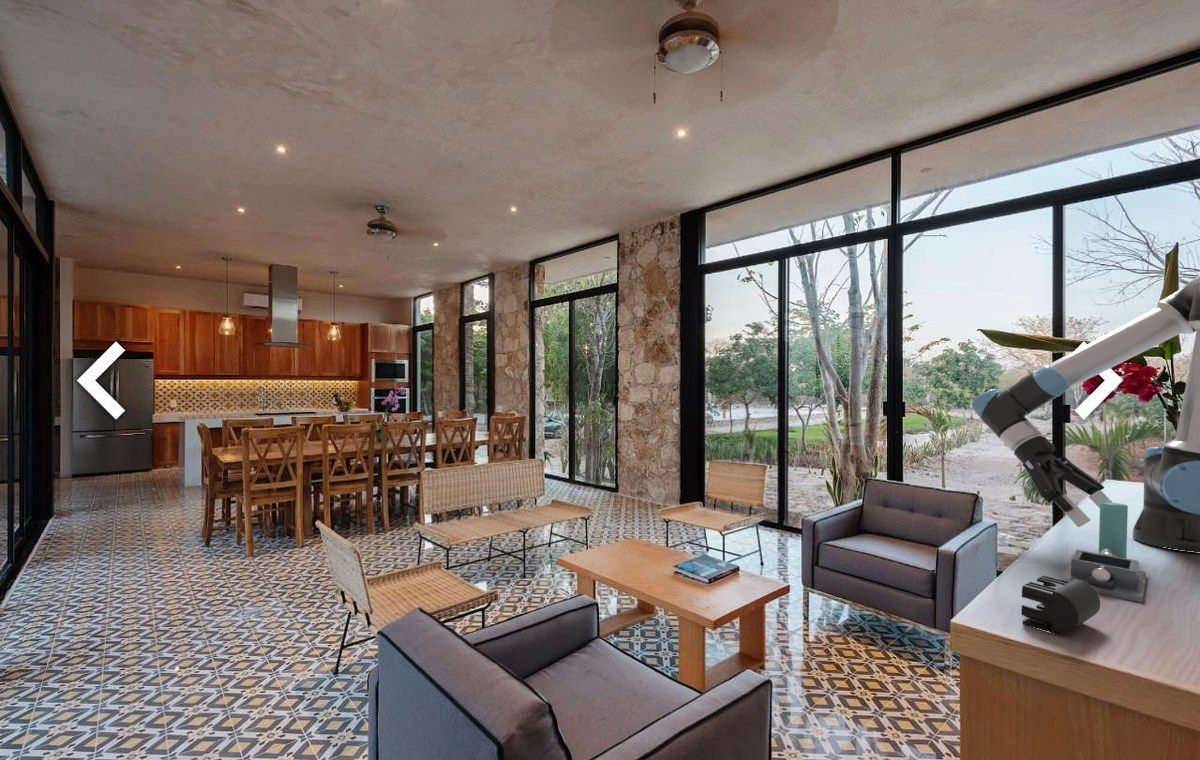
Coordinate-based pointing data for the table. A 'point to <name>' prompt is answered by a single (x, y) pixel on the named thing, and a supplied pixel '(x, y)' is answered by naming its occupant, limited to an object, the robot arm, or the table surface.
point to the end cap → (1059, 604)
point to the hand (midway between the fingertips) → (1102, 521)
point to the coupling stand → (1108, 574)
